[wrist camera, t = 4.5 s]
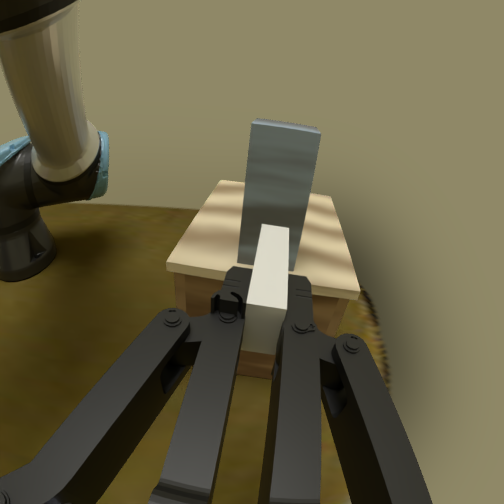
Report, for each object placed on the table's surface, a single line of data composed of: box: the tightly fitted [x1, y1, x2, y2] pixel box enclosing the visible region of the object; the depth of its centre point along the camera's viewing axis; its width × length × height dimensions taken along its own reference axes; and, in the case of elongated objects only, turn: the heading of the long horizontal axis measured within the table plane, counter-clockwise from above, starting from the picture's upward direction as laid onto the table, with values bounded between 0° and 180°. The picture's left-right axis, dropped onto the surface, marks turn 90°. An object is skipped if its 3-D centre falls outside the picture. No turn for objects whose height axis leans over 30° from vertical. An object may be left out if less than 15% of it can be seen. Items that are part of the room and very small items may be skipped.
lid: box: [166, 118, 360, 300], centre depth 31 cm, size 23×17×13 cm
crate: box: [174, 272, 350, 379], centre depth 39 cm, size 22×16×14 cm
